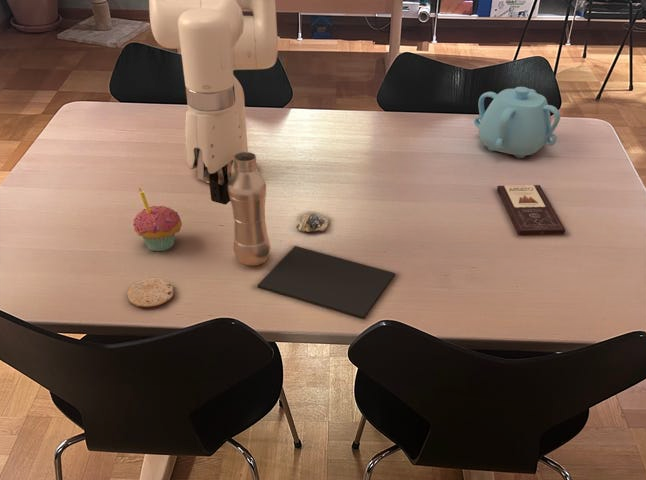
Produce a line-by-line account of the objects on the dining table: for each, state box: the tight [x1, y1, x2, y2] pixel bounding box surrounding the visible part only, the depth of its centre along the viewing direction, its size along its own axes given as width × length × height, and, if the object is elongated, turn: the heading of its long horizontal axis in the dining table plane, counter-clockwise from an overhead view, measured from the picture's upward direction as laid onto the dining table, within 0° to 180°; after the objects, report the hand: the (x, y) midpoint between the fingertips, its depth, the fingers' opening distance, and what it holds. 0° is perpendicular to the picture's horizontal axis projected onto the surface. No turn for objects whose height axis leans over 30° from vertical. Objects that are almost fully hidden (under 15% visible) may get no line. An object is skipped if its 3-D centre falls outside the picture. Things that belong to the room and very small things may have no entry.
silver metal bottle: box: [227, 151, 272, 266], centre depth 124 cm, size 6×7×20 cm
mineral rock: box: [296, 213, 330, 233], centre depth 140 cm, size 7×8×2 cm
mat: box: [257, 245, 396, 320], centre depth 126 cm, size 20×14×1 cm
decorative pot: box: [473, 86, 561, 159], centre depth 163 cm, size 16×16×14 cm
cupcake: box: [132, 187, 183, 252], centre depth 130 cm, size 9×8×12 cm
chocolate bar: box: [496, 184, 566, 236], centre depth 145 cm, size 9×1×18 cm
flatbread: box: [127, 277, 174, 308], centre depth 122 cm, size 8×8×1 cm
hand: (221, 200), depth 125 cm, fingers closed
